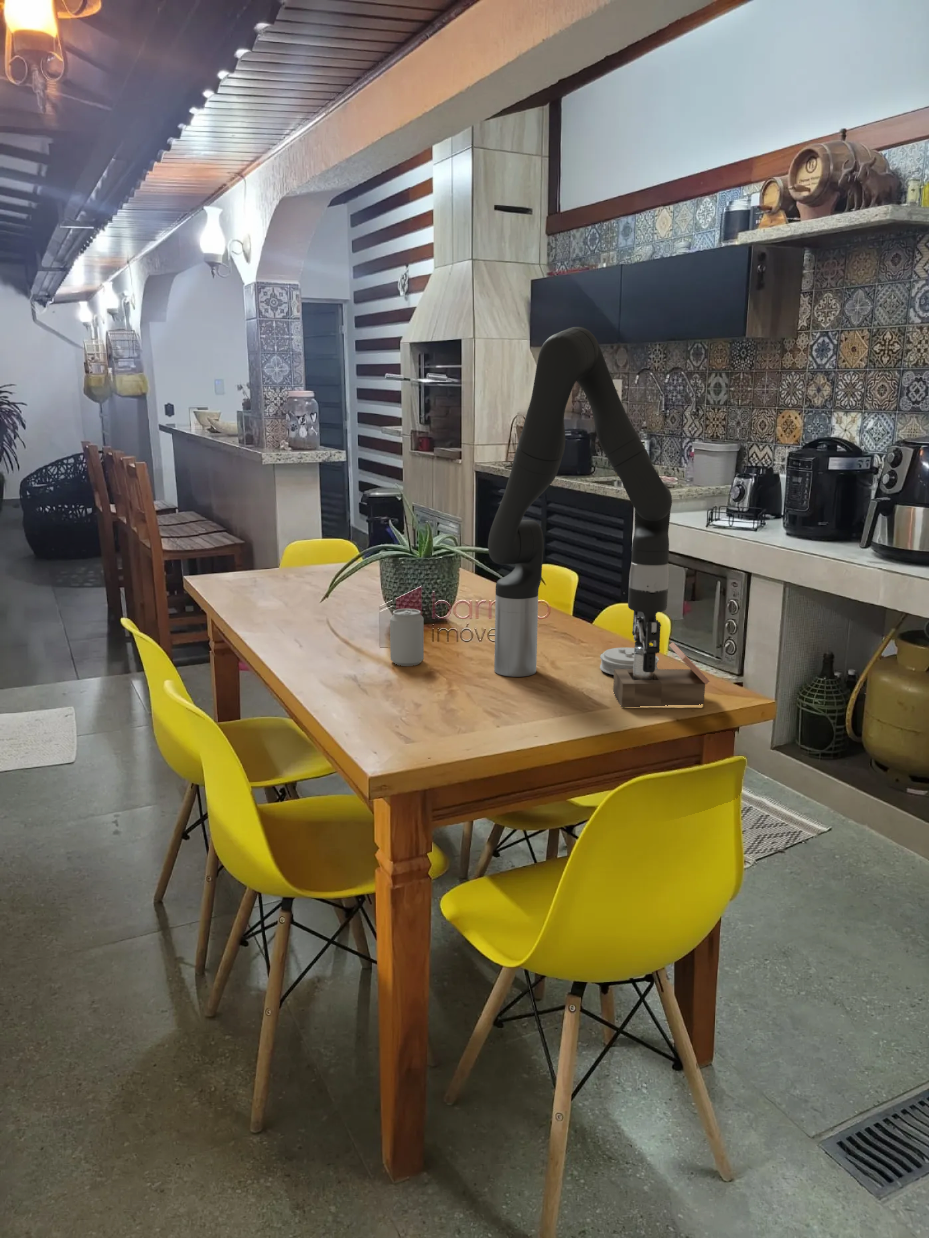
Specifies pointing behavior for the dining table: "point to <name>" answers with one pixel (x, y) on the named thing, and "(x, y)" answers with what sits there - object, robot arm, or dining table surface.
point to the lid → (619, 659)
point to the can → (406, 637)
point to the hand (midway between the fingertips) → (644, 665)
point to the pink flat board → (689, 663)
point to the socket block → (659, 688)
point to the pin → (640, 665)
